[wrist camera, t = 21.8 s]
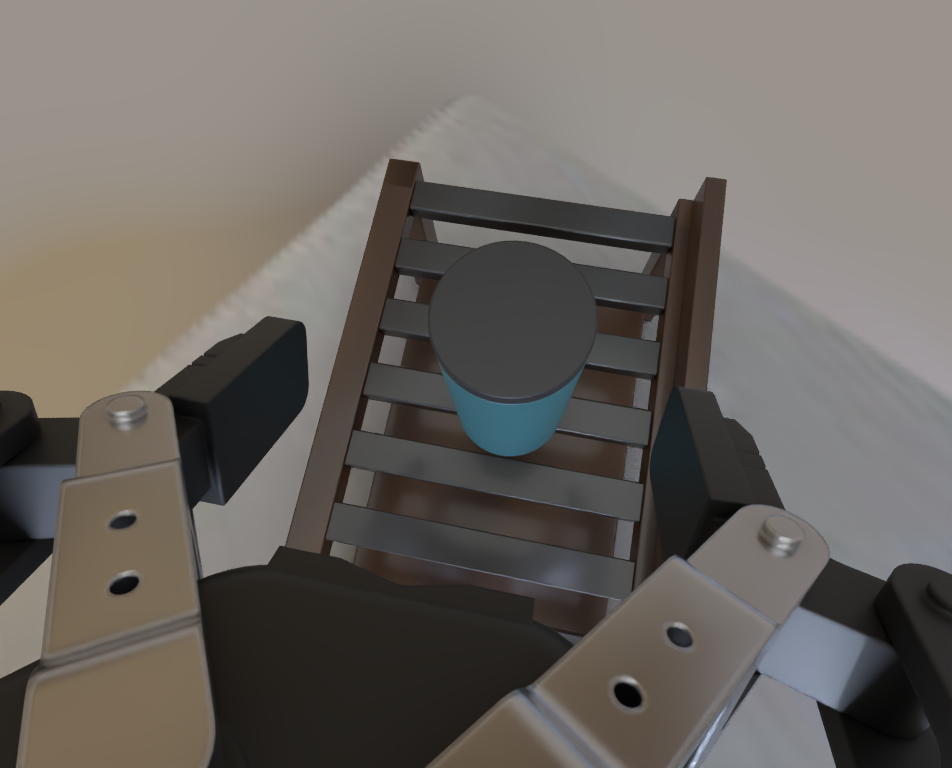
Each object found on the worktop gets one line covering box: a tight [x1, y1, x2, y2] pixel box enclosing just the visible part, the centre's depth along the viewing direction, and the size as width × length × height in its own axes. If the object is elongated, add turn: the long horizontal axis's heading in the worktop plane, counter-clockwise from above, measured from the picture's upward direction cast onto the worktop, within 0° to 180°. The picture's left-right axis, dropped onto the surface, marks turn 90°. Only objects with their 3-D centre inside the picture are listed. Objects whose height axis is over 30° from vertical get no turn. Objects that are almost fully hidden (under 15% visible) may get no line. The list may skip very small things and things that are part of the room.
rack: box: [285, 159, 727, 645], centre depth 26 cm, size 14×20×12 cm
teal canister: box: [428, 241, 598, 456], centre depth 18 cm, size 4×4×9 cm
